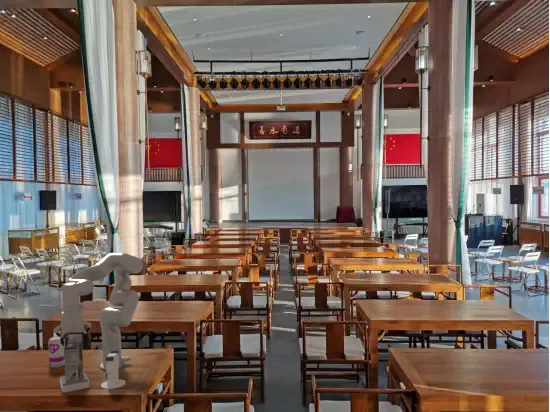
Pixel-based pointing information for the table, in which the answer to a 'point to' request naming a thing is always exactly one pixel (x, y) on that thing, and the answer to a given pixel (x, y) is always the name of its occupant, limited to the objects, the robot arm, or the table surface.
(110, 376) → the white upright piece
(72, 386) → the pedestal
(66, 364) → the coffee box
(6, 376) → the table surface
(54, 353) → the supplement can
